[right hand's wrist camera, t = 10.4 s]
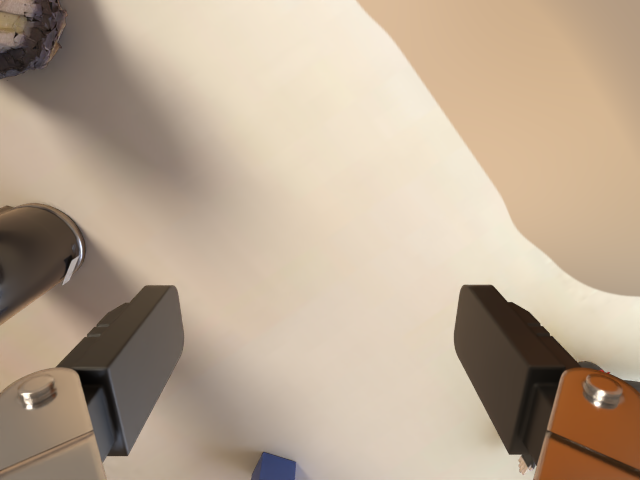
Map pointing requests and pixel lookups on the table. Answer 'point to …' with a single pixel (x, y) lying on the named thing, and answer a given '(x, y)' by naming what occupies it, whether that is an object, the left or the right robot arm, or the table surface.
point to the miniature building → (29, 34)
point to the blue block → (274, 468)
